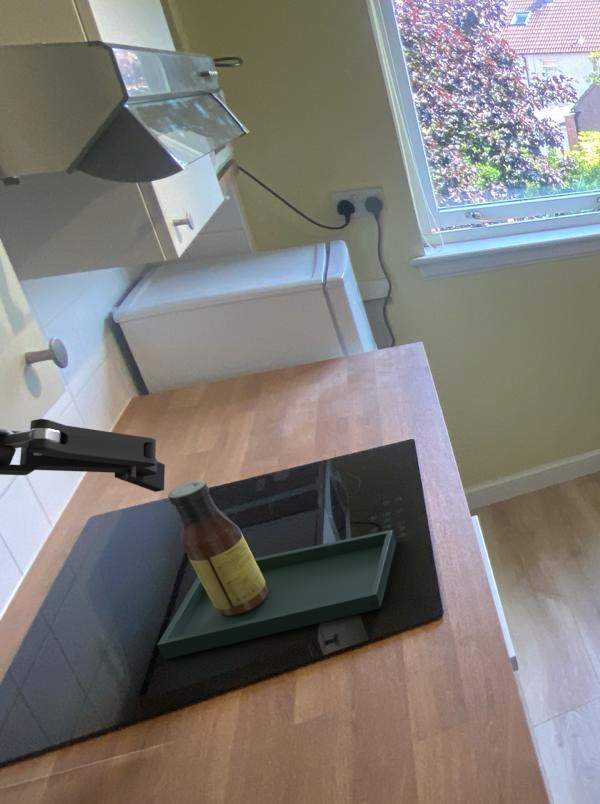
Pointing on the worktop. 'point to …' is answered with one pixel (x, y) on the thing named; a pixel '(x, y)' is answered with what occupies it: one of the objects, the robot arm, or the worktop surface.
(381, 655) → the worktop surface
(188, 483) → the sauce bottle
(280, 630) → the tray
